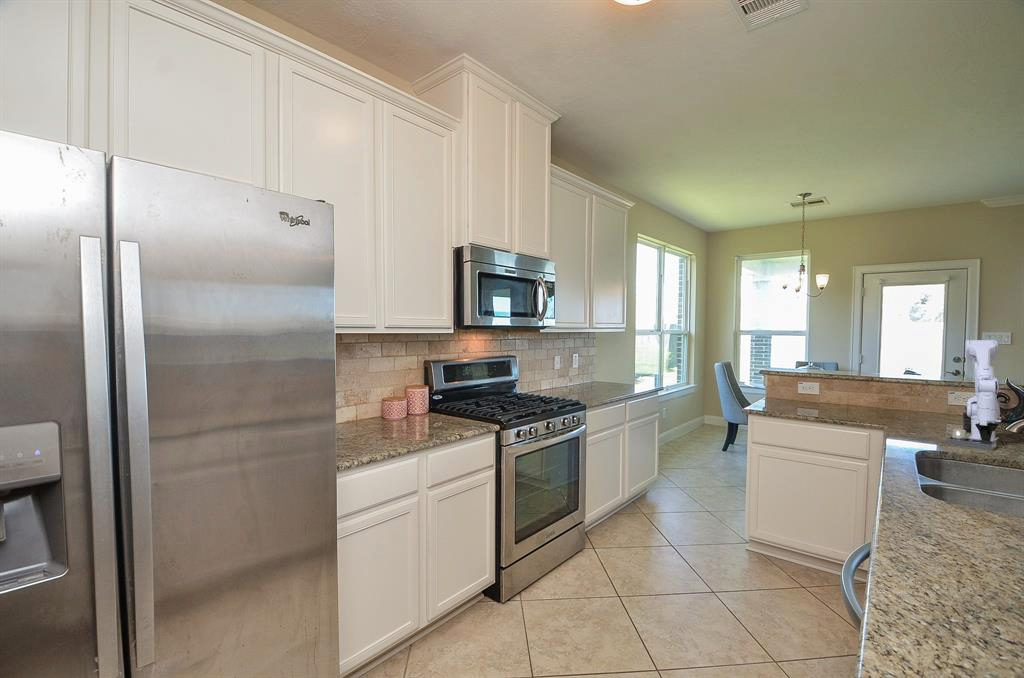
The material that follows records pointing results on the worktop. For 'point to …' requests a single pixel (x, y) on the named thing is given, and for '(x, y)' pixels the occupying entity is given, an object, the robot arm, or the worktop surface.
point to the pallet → (972, 443)
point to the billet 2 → (991, 437)
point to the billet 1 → (959, 434)
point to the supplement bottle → (966, 422)
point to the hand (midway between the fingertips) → (987, 441)
